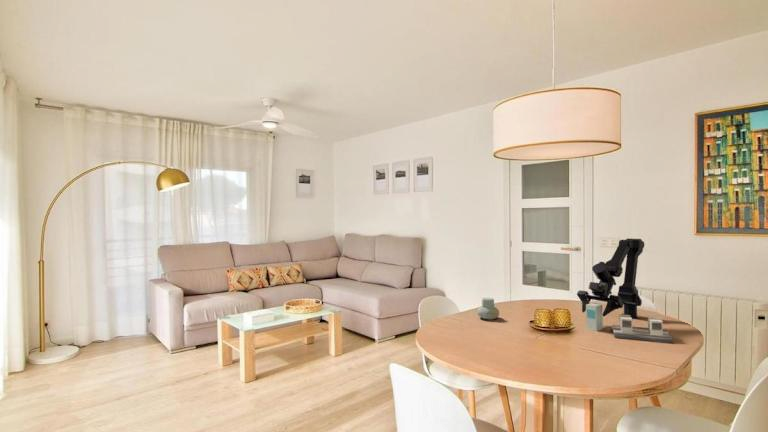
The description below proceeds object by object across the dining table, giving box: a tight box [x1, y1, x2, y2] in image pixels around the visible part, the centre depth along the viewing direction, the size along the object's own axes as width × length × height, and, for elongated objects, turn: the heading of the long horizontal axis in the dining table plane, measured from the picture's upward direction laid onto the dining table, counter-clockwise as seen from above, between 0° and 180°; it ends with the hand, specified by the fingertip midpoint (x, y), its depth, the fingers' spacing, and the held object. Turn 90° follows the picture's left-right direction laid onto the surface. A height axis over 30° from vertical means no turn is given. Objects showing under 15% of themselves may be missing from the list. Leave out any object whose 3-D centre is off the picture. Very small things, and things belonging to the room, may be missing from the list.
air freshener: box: [476, 297, 500, 321], centre depth 201 cm, size 11×8×10 cm
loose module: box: [585, 302, 604, 332], centre depth 179 cm, size 6×4×11 cm
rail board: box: [611, 313, 674, 344], centre depth 167 cm, size 14×20×8 cm
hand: (592, 313), depth 178 cm, fingers open, 9 cm apart
